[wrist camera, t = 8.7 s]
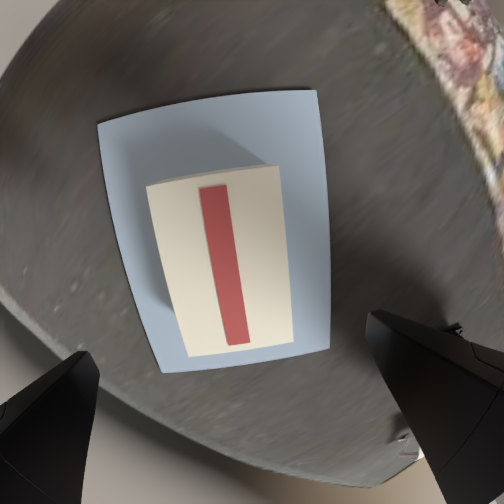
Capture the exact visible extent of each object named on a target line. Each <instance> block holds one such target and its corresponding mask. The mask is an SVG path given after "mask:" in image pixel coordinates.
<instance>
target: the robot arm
mask: <svg viewBox="0 0 504 504" xmlns="http://www.w3.org/2000/svg"><path fill="white" fill-rule="evenodd" d="M463 331H464V328H463V327H462V326H459V327H457V328H454V329H452V330H450V331H447V332H442V331H439V330H436V329H433V328H431V327H428V326H425V325H422V324H420V323H417V322H414V321H411V320H408V319H406V318H403V317H400V316H397V315H395V314H392V313H389V312H387V311H384V310H381V309H379V310H375V311H371V312H369V313H368V316H367V325H366V340H367V342H368V344H369V347H370V349H371V351H372V354H373V356H374V358H375V361H376V363H377V366H378V368H379V370H380V373H381V375H382V377H383V379H384V381H385V383H386V384H387V386H388V388H389V390H390V392H391V393H392V395H393V397H394V399H395V401H396V402H397V404H398V406H399V408H400V410H401V412H402V413H403V415H404V417H405V419H406V421H407V423H408V425H409V427H410V429H411V430H412V432H413V434H414V436H415V438H416V440H417V442H418V444H419V446H420V448H421V450H422V452H423V454H424V456H425V458H426V460H427V462H428V464H429V466H430V468H431V470H432V472H433V474H434V476H435V479H436V481H437V483H438V485H439V488H440V489H441V492H442V494H443V496H444V499H445V501H446V503H447V504H489V503H490V502H492V501H493V500H495V501H496V502H497V504H504V352H501V351H497V350H494V349H491V348H488V347H484V346H481V345H479V344H476V343H473V342H469V341H467V340H465V339H464V338H463V337H462V334H463ZM99 378H100V373H99V369H98V367H97V366H96V364H95V362H94V360H93V358H92V356H91V354H90V353H89V352H88V351H77V352H76V353H74V354H73V355H71V356H70V357H68V358H67V359H65V360H64V361H62V362H61V363H60V364H58V365H57V366H55V367H54V368H52V369H51V370H50V371H48V372H47V373H45V374H44V375H42V376H41V377H40V378H38V379H37V380H35V381H34V382H32V383H31V384H30V385H28V386H27V387H25V388H24V389H23V390H21V391H20V392H18V393H17V394H16V395H14V396H13V397H11V398H10V399H9V400H8V401H7V402H4V403H3V404H2V405H0V504H81V498H82V488H83V480H84V472H85V465H86V458H87V452H88V446H89V441H90V436H91V430H92V425H93V421H94V415H95V409H96V400H97V392H98V385H99Z"/></svg>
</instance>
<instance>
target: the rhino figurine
mask: <svg viewBox="0 0 504 504" xmlns="http://www.w3.org/2000/svg"><path fill="white" fill-rule="evenodd" d="M435 1H436V3H437V4H438V5H439V6H442V7H444V6H445V4H446V2H447V1H448V0H435ZM460 1H461V2H462V3H463V4H465V5H467V6H468V5H469V3H470V1H471V0H460Z"/></svg>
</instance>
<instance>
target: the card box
mask: <svg viewBox="0 0 504 504" xmlns="http://www.w3.org/2000/svg"><path fill="white" fill-rule="evenodd" d="M146 190H147V196H148V201H149V206H150V212H151V217H152V222H153V226H154V231H155V236H156V240H157V245H158V249H159V253H160V258H161V262H162V266H163V270H164V274H165V278H166V282H167V286H168V289H169V293H170V297H171V300H172V304H173V308H174V311H175V314H176V318H177V321H178V325H179V328H180V331H181V335H182V338H183V341H184V344H185V347H186V350H187V353H188V356H189V357H194V356H204V355H212V354H220V353H228V352H235V351H242V350H249V349H255V348H262V347H268V346H273V345H279V344H285V343H290V342H294V341H293V323H292V307H291V293H290V279H289V266H288V254H287V243H286V231H285V221H284V210H283V200H282V191H281V181H280V172H279V166H278V165H271V164H261V165H253V166H245V167H238V168H230V169H223V170H217V171H210V172H204V173H198V174H192V175H186V176H181V177H175V178H170V179H165V180H161V181H158V182H156V183H153V184H151V185H148V186H146Z"/></svg>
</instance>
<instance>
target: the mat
mask: <svg viewBox="0 0 504 504" xmlns="http://www.w3.org/2000/svg"><path fill="white" fill-rule="evenodd" d="M97 125H98V135H99V143H100V151H101V158H102V165H103V171H104V177H105V183H106V189H107V194H108V199H109V204H110V209H111V214H112V218H113V223H114V227H115V231H116V236H117V240H118V244H119V248H120V251H121V255H122V259H123V263H124V266H125V270H126V273H127V277H128V280H129V283H130V287H131V290H132V293H133V296H134V299H135V302H136V305H137V308H138V311H139V314H140V317H141V320H142V323H143V326H144V328H145V331H146V334H147V336H148V339H149V342H150V344H151V347H152V349H153V352H154V354H155V357H156V359H157V362H158V364H159V367H160V369H161V371H162V373H171V372H184V371H195V370H205V369H214V368H223V367H230V366H238V365H245V364H251V363H258V362H264V361H270V360H276V359H281V358H286V357H292V356H297V355H302V354H306V353H311V352H316V351H320V350H324V349H329V348H330V316H331V262H330V230H329V210H328V194H327V181H326V169H325V158H324V148H323V139H322V130H321V122H320V114H319V107H318V100H317V93H316V90H292V91H271V92H257V93H246V94H236V95H228V96H220V97H213V98H206V99H200V100H194V101H188V102H183V103H178V104H173V105H168V106H163V107H159V108H155V109H150V110H146V111H142V112H138V113H134V114H131V115H127V116H123V117H120V118H117V119H113V120H110V121H107V122H103V123H100V124H97ZM261 164H271V165H278V166H279V172H280V181H281V191H282V200H283V210H284V221H285V231H286V243H287V254H288V266H289V279H290V293H291V307H292V323H293V341H294V342H290V343H285V344H279V345H273V346H268V347H262V348H255V349H249V350H242V351H235V352H228V353H220V354H212V355H204V356H194V357H189V356H188V353H187V350H186V347H185V344H184V341H183V338H182V335H181V331H180V328H179V325H178V321H177V318H176V314H175V311H174V308H173V304H172V300H171V297H170V293H169V289H168V286H167V282H166V278H165V274H164V270H163V266H162V262H161V258H160V253H159V249H158V245H157V240H156V236H155V231H154V226H153V222H152V217H151V212H150V206H149V201H148V196H147V190H146V186H148V185H151V184H153V183H156V182H158V181H161V180H165V179H170V178H175V177H181V176H186V175H192V174H198V173H204V172H210V171H217V170H223V169H230V168H238V167H245V166H253V165H261Z"/></svg>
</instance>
